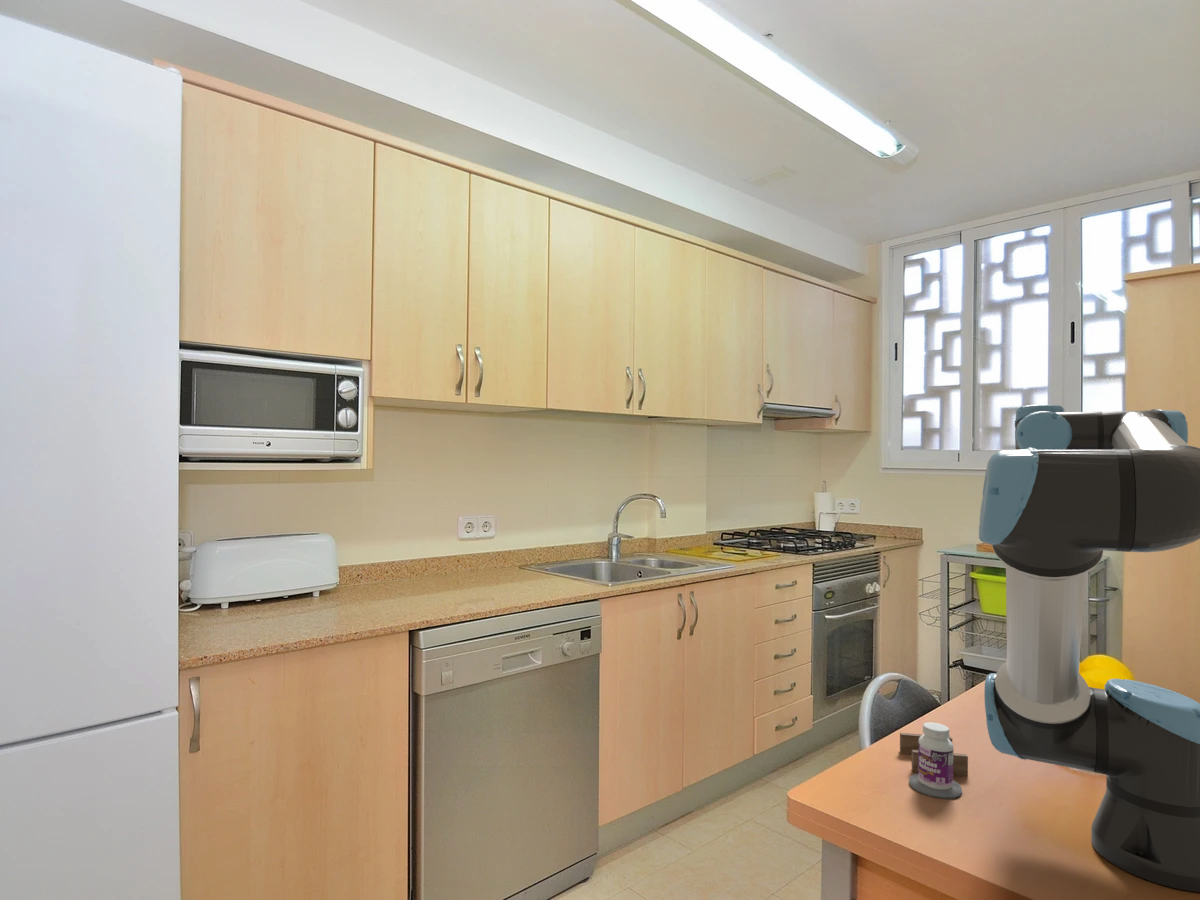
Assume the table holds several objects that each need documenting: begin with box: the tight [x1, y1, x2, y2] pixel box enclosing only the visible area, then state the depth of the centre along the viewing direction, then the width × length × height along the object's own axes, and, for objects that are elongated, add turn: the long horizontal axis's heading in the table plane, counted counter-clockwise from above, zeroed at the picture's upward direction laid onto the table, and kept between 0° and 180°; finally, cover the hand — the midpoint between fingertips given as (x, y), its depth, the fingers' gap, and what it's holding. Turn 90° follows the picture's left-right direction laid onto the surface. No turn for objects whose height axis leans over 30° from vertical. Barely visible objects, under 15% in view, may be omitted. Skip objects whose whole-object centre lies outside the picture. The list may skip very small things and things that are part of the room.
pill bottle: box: [917, 721, 955, 790], centre depth 116 cm, size 5×5×10 cm
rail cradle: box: [899, 732, 969, 777], centre depth 125 cm, size 9×9×4 cm
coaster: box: [908, 773, 963, 800], centre depth 116 cm, size 8×8×1 cm
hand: (1039, 611), depth 122 cm, fingers open, 13 cm apart
